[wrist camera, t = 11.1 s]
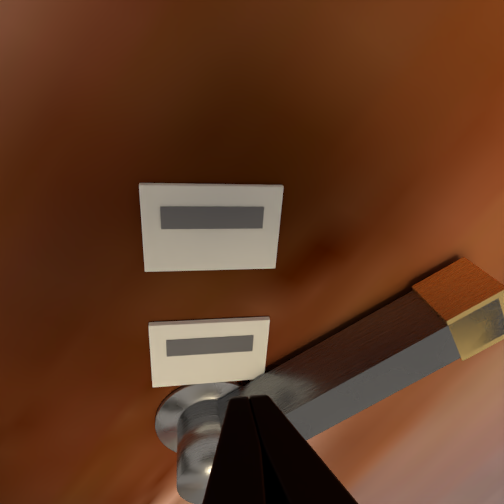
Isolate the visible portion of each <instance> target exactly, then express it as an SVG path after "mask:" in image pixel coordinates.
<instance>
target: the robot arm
mask: <svg viewBox="0 0 504 504" xmlns="http://www.w3.org/2000/svg"><path fill="white" fill-rule="evenodd" d="M202 504H358V503H357V502H356V500H355V499H354V498H353V497H352V496H351V494H350V493H349V492H348V491H347V489H346V488H345V487H344V486H343V485H342V483H341V482H340V481H339V480H338V479H337V477H336V476H335V475H334V474H333V473H332V471H331V470H330V469H329V468H328V467H327V465H326V464H325V463H324V462H323V461H322V459H321V458H320V457H319V456H318V455H317V453H316V452H315V451H314V450H313V449H312V447H311V446H310V445H309V444H308V443H307V441H306V440H305V439H304V438H303V437H302V435H301V434H300V433H299V432H298V430H297V429H296V428H295V427H294V426H293V424H292V423H291V422H290V421H289V420H288V418H287V417H286V416H285V415H284V414H283V412H282V411H281V410H280V409H279V408H278V406H277V405H276V404H275V403H274V402H273V400H272V399H271V398H270V397H269V396H268V395H266V394H261V395H251V396H250V397H249V398H248V397H247V396H237V397H231V398H230V399H229V402H228V405H227V409H226V413H225V417H224V421H223V425H222V429H221V432H220V436H219V440H218V444H217V448H216V452H215V456H214V460H213V464H212V467H211V471H210V475H209V479H208V483H207V487H206V491H205V495H204V499H203V502H202Z"/></svg>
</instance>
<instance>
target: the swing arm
mask: <svg viewBox="0 0 504 504" xmlns="http://www.w3.org/2000/svg"><path fill="white" fill-rule="evenodd" d="M411 287H412V289H413V291H411V292H409V293H408V294H406V295H404V296H402V297H400V298H399V299H397V300H395V301H393V302H392V303H390V304H388V305H386V306H384V307H383V308H381V309H379V310H377V311H376V312H374V313H372V314H370V315H368V316H367V317H365V318H363V319H361V320H360V321H358V322H356V323H354V324H353V325H351V326H349V327H347V328H345V329H344V330H342V331H340V332H338V333H337V334H335V335H333V336H331V337H329V338H328V339H326V340H324V341H322V342H321V343H319V344H317V345H315V346H313V347H312V348H310V349H308V350H306V351H305V352H303V353H301V354H299V355H297V356H296V357H294V358H292V359H290V360H289V361H287V362H285V363H283V364H281V365H280V366H278V367H276V368H274V369H273V370H271V371H269V372H267V373H265V374H264V375H262V376H260V377H258V378H257V379H255V380H253V381H251V382H249V383H248V384H246V385H244V386H242V387H241V388H239V389H237V390H235V391H233V392H232V393H230V394H228V395H226V396H225V397H223V398H221V399H219V400H218V401H217V400H210V401H203V402H199V403H197V404H194V405H192V406H190V407H189V408H187V409H186V410H185V411H184V412H183V413H182V414H181V415H180V417H179V419H178V422H177V491H178V493H179V495H180V496H181V497H182V498H183V499H185V500H186V501H188V502H191V503H194V504H202V502H203V499H204V495H205V491H206V487H207V483H208V479H209V475H210V471H211V467H212V464H213V460H214V456H215V452H216V448H217V444H218V440H219V436H220V432H221V429H222V425H223V421H224V417H225V413H226V409H227V405H228V402H229V399H230V398H231V397H237V396H247V397H248V398H249V397H250V396H251V395H261V394H266V395H268V396H269V397H270V398H271V399H272V400H273V402H274V403H275V404H276V405H277V406H278V408H279V409H280V410H281V411H282V412H283V414H284V415H285V416H286V417H287V418H288V420H289V421H290V422H291V423H292V424H293V426H294V427H295V428H296V429H297V430H298V432H299V433H300V434H301V435H302V437H303V438H304V439H305V440H308V439H310V438H312V437H313V436H315V435H317V434H319V433H321V432H323V431H325V430H326V429H328V428H330V427H332V426H334V425H336V424H338V423H340V422H341V421H343V420H345V419H347V418H349V417H351V416H353V415H354V414H356V413H358V412H360V411H362V410H364V409H366V408H368V407H369V406H371V405H373V404H375V403H377V402H379V401H381V400H382V399H384V398H386V397H388V396H390V395H392V394H394V393H395V392H397V391H399V390H401V389H403V388H405V387H407V386H409V385H410V384H412V383H414V382H416V381H418V380H420V379H422V378H423V377H425V376H427V375H429V374H431V373H433V372H435V371H437V370H438V369H440V368H442V367H444V366H446V365H448V364H450V363H451V362H453V361H455V360H457V359H459V358H460V359H461V360H462V361H464V360H465V359H467V358H469V357H471V356H473V355H475V354H477V353H479V352H480V351H482V350H484V349H486V348H488V347H490V346H492V345H494V344H495V343H497V342H499V341H501V340H503V339H504V285H503V284H501V283H500V282H498V281H497V280H496V279H494V278H493V277H491V276H490V275H489V274H487V273H486V272H484V271H483V270H482V269H480V268H479V267H477V266H476V265H474V264H473V263H472V262H470V261H469V260H467V259H466V258H465V257H463V258H461V259H459V260H457V261H456V262H454V263H452V264H450V265H448V266H447V267H445V268H443V269H441V270H440V271H438V272H436V273H434V274H433V275H431V276H429V277H427V278H425V279H424V280H422V281H420V282H418V283H417V284H415V285H413V286H411Z"/></svg>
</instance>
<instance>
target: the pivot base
mask: <svg viewBox="0 0 504 504" xmlns="http://www.w3.org/2000/svg"><path fill="white" fill-rule="evenodd" d="M242 386H243V385H241V384H239V383H237V382H234V381H229V382H216V383H203V384H190V385H184V386H182V387H180V388H178V389H176V390H175V391H173V392H172V393H171V394H170V395H168V396H167V397H166V398H165V399H164V401H163V402H162V403H161V405H160V406H159V408H158V411H157V414H156V421H155V428H156V433H157V435H158V437H159V439H160V440H161V442H162V443H163V444H164V445H165V446H167V447H168V448H169V449H171V450H173V451H175V452H177V422H178V419H179V417H180V415H181V414H182V413H183V412H184V411H185V410H186V409H187V408H189V407H190V406H192V405H194V404H197V403H199V402H203V401H210V400H217V401H218V400H219V399H221V398H223V397H225V396H226V395H228V394H230V393H232V392H233V391H235V390H237V389H239V388H241V387H242Z"/></svg>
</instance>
